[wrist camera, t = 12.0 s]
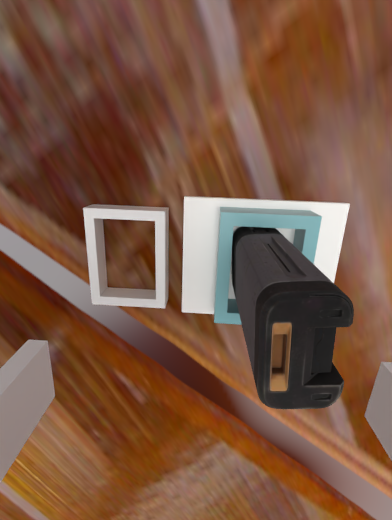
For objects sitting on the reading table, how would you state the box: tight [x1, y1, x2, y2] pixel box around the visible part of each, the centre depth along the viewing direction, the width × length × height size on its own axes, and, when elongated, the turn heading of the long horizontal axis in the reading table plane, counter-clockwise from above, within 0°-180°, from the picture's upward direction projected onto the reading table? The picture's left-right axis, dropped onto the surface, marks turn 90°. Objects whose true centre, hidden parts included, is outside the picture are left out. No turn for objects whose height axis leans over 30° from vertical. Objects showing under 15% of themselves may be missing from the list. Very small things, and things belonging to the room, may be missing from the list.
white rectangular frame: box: [83, 204, 169, 308], centre depth 39 cm, size 10×13×3 cm
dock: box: [182, 196, 350, 324], centre depth 37 cm, size 20×16×5 cm
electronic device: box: [232, 226, 354, 409], centre depth 29 cm, size 9×6×20 cm, turn 2°
